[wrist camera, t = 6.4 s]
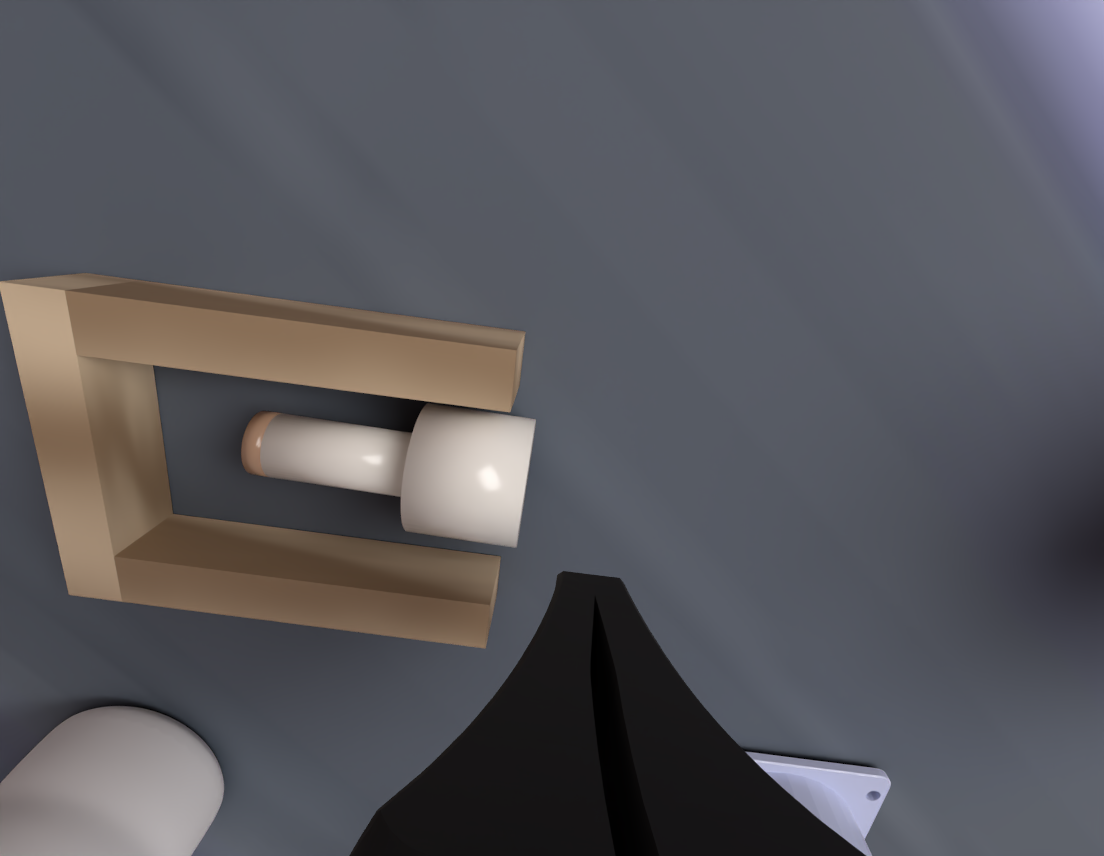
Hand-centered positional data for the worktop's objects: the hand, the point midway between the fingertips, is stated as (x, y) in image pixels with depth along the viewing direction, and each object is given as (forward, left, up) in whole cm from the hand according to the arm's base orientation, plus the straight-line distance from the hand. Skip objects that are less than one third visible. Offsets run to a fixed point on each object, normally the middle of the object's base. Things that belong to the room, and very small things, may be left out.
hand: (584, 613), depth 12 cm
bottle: (+1, +2, -4) cm, 5 cm away
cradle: (0, +8, -6) cm, 10 cm away
